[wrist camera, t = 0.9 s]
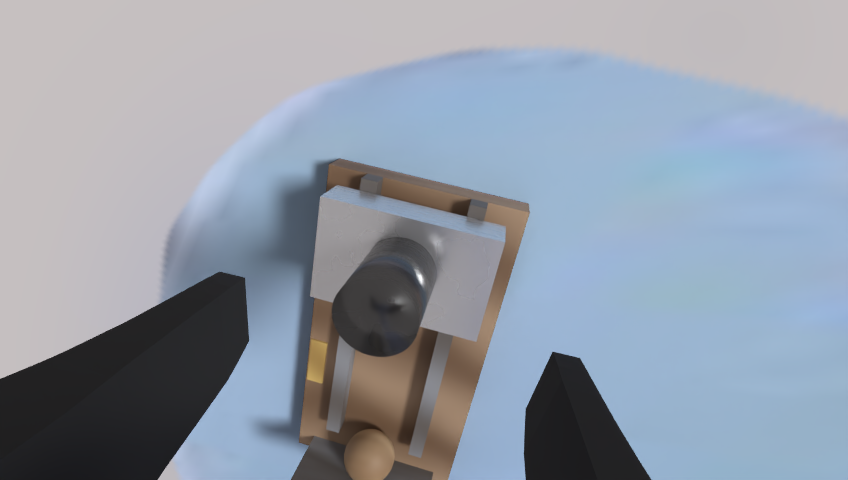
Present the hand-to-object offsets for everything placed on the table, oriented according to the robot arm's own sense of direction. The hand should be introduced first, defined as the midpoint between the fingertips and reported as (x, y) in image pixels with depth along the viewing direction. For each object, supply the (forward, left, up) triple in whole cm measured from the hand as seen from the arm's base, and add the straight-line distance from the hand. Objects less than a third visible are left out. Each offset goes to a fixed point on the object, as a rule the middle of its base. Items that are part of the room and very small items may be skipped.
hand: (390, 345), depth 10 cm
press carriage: (-3, +1, -11) cm, 11 cm away
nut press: (-9, +1, -13) cm, 16 cm away
